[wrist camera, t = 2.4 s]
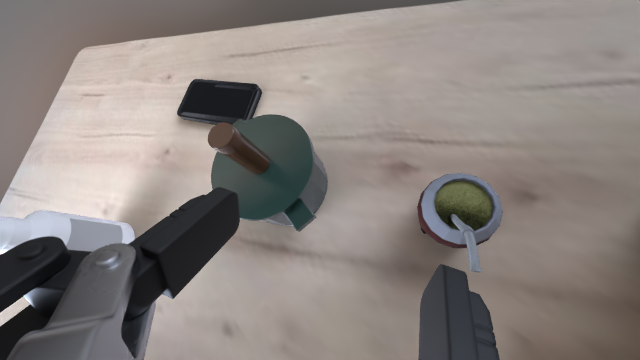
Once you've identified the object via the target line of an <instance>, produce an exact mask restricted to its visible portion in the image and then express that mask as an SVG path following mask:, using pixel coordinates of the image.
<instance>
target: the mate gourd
mask: <svg viewBox="0 0 640 360" xmlns="http://www.w3.org/2000/svg"><path fill="white" fill-rule="evenodd" d="M417 208H418V215H419V222H420V225H421V230H422V231H423V233H424V234H425V233H427V234H428V235H430V236H431V237H432V238H433V239H435V240H436V241H437V242H439V243H441V244H444V245H447V246H450V247H453V248H467V249H468V256H469V263H470V270H471V271H474V272H481V269H480V263H479V257H478V251H477V246H476V245H479V244H481V243H483V242H485V241H487V240H489V238H490V237H491V236H492V234H493V233H494V232H495V231H496V229H497V228H498V227H499V226H500V222H501V217H502V212H503V211H502V207H501V203H500V199H499V196H498V195H497V194H496V192H495V191H494V190H493V189H492V187H491V186H490V185H489V184H487V183H486V182H484V181H483V180H481V179H479V178H478V177H476V176H472V175H467V174H463V173H457V174H447V175H444V176H442V177H440V178H438V179H436V180H434V181H433V182H431V183H430V184H429V185H428V186H427V188H426V189H425V190H424V191H423V192H422V194H421V196H420V200H419V203H418V206H417Z"/></svg>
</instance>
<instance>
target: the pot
mask: <svg viewBox="0 0 640 360" xmlns="http://www.w3.org/2000/svg"><path fill="white" fill-rule="evenodd" d="M242 123H244V121H243V120H242V119H241V118H239V119H238V120H237V121H236V122H235V123H234V124H232V126H233V127H235V128H237V127H238V126H239V125H241V124H242ZM314 158H315V162H314V170H313V174H312V177H311V180H310V183H309V185H308V187H307V189H306V190H305V192H304V193H303V195H302V196H301V197H300V199H299V200H298V201H297V202H296V203H295V204H294V205H293V206H292V207H290V208H289V209H288V210H286V211H285V212H283V213H282V214H280V215H278V216H275V217H273V218H270V219H266V220H262V221H265V222H268V223H271V224H276V225H283V226H288V225H293V226H294V228H295V229H296V231H299V232H300V231H301V230H302V229H303V228H305V227H306V226H307V225H308V224H309V223H311V222H312V221H313V220H314V219H315V218H316V216H315V215H314V213H315V212H316V211H317V210H318V208H319V207H320V206H321V204H322V202H323V200H324V198H325V195H326V191H327V183H328V182H327V174H326V171H325V168H324V165H323V163H322V162H321V160H320V159H319V157H318V156H317V155H316V153H315V152H314Z"/></svg>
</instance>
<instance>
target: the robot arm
mask: <svg viewBox="0 0 640 360" xmlns="http://www.w3.org/2000/svg"><path fill="white" fill-rule="evenodd" d="M239 222H240V218H239V204H238V195H237V193H236V192H233V191H230V190H227V189H224V188H221V187H217V188H215V189H214V190H212V191H211V192H210V193H208V194H207V195H201V196H198V197H196V198H193V199H191V200H189V201H188V202H186V203H185V204H183V205H182V206H181V207H179V209H178V210H177V209H176V210H175V211H174V212H172V213H171V214H170V216H167V217H165V218H164V219H163V220H161V221H160V222H158V223H157V224H156V225H154V226H153V227H152V228H150V229H149V230H147V231H146V232H145V233H143V234H142V235H140V236H139V237H138V238H136V239H135V240H134V241H132V242H131V243H129V244H125V243H115V244H110V245H106V246H103V247H101V248H99V249H97V250H95V251H93V252H91V251H78V250H68V248H67V247H66V245H65V243H64V242H63V240H62V239H60V238H58V237H53V236H46V237H39V238H35V239H31V240H29V241H26V242H24V243H21V244H19V245H17V246H15V247H14V248H12V249H10V250H8V251H6V252H5V253H3V254H1V255H0V312H2V311H3V310H4V309H6V308H7V307H9V306H10V305H12V304H13V303H14V302H16V301H17V300H19V299H20V298H21V297H23V296H24V297H25V298H26V299H27V301H28V302H29V303H30V305H29V306H28V307H26V308H25V309H24V310H22V311H21V312H19V313H18V314H17V315H15V316H14V317H13V318H11V319H10V320H9V321H7V322H6V323H5V324H3V325H2V326H1V327H0V360H144V356H145V351H146V347H147V342H148V338H149V333H150V329H151V324H152V320H153V315H154V311H155V306H156V301H155V300H156V299H157V298H158V297H159V296H160V295H161V294H164V295H166V296H168V297H170V298H172V299H174V297H175V296H176V295H177V294H178V293H179V292H180V291H181V290H182V289H183V288H184V287H185V286H186V285H187V284H188V283H189V282H190V280H191V279H192V278H193V277H194V276H195V275H196V274H197V273H198V272H199V271H200V270H201V269H202V268H203V267H204V266H205V265H206V263H207V262H208V261H209V260H210V259H211V258H212V257H213V256H214V255H215V254H216V253H217V252H218V251H219V250H220V249H221V248H222V246H223V245H224V244H225V243H226V242H227V241H228V240H229V239H230V238H231V237H232V236H233V235H234V234H235V232H236V231H237V229H238V226H239ZM419 360H500V359H499V355H498V350H497V348H496V341H495V336H494V333H493V326H492V322H491V317H490V312H489V310H488V308H487V307H486V305H485V303H484V302H483V300H482V298H481V297H480V295H479V294H477V293H474V292H471V291H469V287H468V280H467V275H466V273H465V272H463V271H460V270H457V269H454V268H451V267H449V266H446V265H443V264H440V265H439V266H438V268H437V269H436V271H435V273H434V275H433V276H432V278H431V280H430V282H429V283H428V285H427V287H426V288H425V290H424V293H423V296H422V299H421V305H420V333H419Z"/></svg>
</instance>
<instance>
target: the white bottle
mask: <svg viewBox="0 0 640 360" xmlns="http://www.w3.org/2000/svg"><path fill="white" fill-rule="evenodd" d="M46 236H53V237H58V238H60V239H62V240H63V242H64V243H65V245H66V247H67V248H68V250H78V251H91V252H93V251H95V250H97V249H99V248H101V247H103V246H106V245H110V244H115V243H125V244H129V243H131V242H132V241H134V239H135V238H134V231H133V229H132V227H131V226H130V225H129V224H127V223H124V222H118V221H112V220H105V219H99V218H93V217H86V216H80V215H73V214H67V213H61V212H54V211H48V210H40V211H35V212H33V213H31V214H29V215H28V216H27V217H25V218H24V219H22V218H14V217H0V253H5V252H6V251H8V250H10V249H12V248H14V247H15V246H17V245H19V244H21V243H24V242H26V241H29V240H31V239H35V238H39V237H46Z"/></svg>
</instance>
